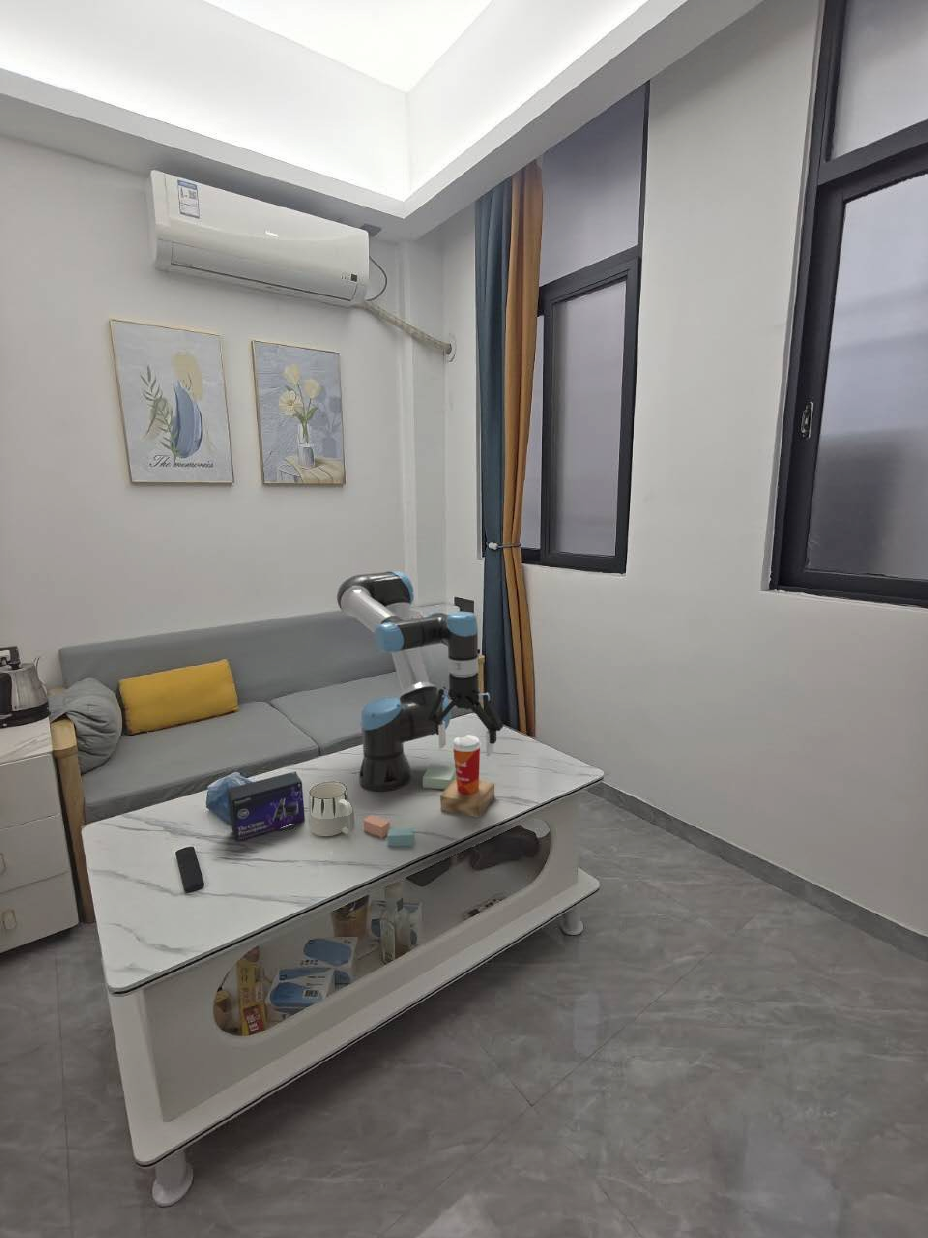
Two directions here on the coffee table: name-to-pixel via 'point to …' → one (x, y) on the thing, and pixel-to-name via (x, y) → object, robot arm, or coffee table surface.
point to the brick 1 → (376, 826)
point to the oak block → (467, 799)
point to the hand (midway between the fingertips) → (465, 750)
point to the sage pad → (439, 777)
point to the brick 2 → (400, 837)
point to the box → (266, 805)
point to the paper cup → (467, 763)
